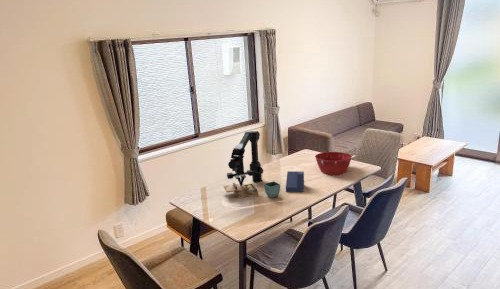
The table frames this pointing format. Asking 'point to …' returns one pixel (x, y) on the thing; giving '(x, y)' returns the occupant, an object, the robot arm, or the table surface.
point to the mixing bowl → (333, 162)
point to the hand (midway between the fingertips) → (241, 185)
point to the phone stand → (295, 181)
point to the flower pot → (272, 189)
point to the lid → (235, 187)
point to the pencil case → (246, 192)
